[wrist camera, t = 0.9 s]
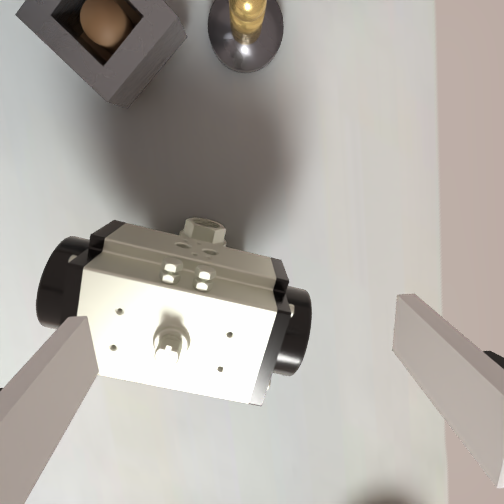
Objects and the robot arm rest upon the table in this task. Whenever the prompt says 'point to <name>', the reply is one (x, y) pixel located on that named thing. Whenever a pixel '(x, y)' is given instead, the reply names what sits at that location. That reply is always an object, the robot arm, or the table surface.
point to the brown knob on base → (107, 24)
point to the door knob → (245, 33)
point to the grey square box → (125, 57)
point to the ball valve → (179, 308)
